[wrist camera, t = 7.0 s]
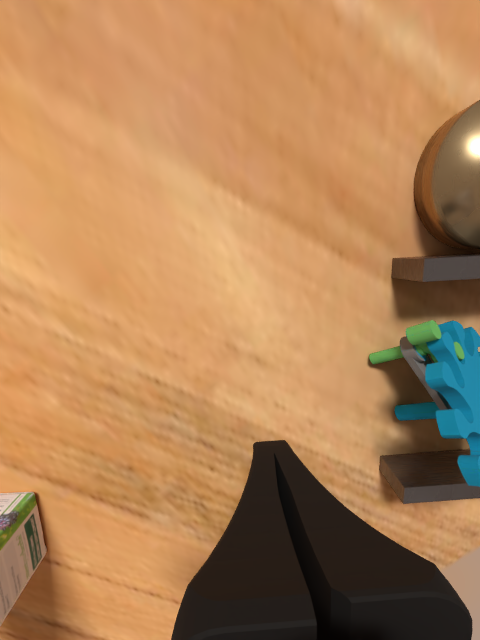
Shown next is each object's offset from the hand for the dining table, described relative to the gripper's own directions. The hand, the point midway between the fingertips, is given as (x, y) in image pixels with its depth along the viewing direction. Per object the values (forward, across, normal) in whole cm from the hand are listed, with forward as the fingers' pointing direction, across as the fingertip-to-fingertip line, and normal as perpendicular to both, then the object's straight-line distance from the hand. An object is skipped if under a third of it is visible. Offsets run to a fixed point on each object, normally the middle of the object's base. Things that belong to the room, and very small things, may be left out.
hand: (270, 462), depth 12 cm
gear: (+8, -12, 0) cm, 15 cm away
